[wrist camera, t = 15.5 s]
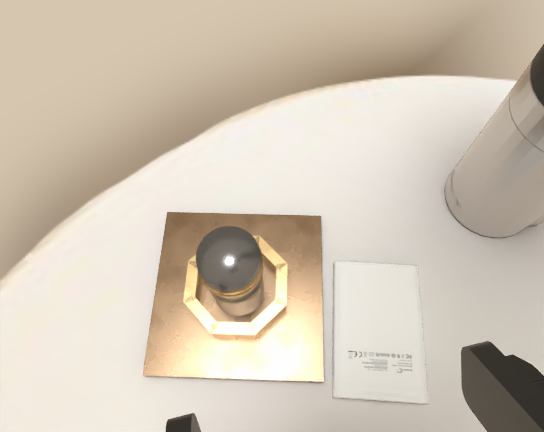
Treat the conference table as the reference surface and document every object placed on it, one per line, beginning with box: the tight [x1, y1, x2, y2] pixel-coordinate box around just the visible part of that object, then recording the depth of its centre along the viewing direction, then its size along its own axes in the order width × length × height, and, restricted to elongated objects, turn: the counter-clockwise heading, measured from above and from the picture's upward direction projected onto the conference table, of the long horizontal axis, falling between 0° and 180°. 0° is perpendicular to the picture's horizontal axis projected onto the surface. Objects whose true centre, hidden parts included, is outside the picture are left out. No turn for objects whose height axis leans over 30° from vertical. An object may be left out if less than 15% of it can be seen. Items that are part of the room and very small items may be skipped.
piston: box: [196, 226, 264, 316], centre depth 36 cm, size 5×5×10 cm
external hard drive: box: [332, 261, 428, 404], centre depth 40 cm, size 2×8×12 cm
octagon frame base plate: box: [143, 212, 324, 382], centre depth 40 cm, size 16×16×4 cm
